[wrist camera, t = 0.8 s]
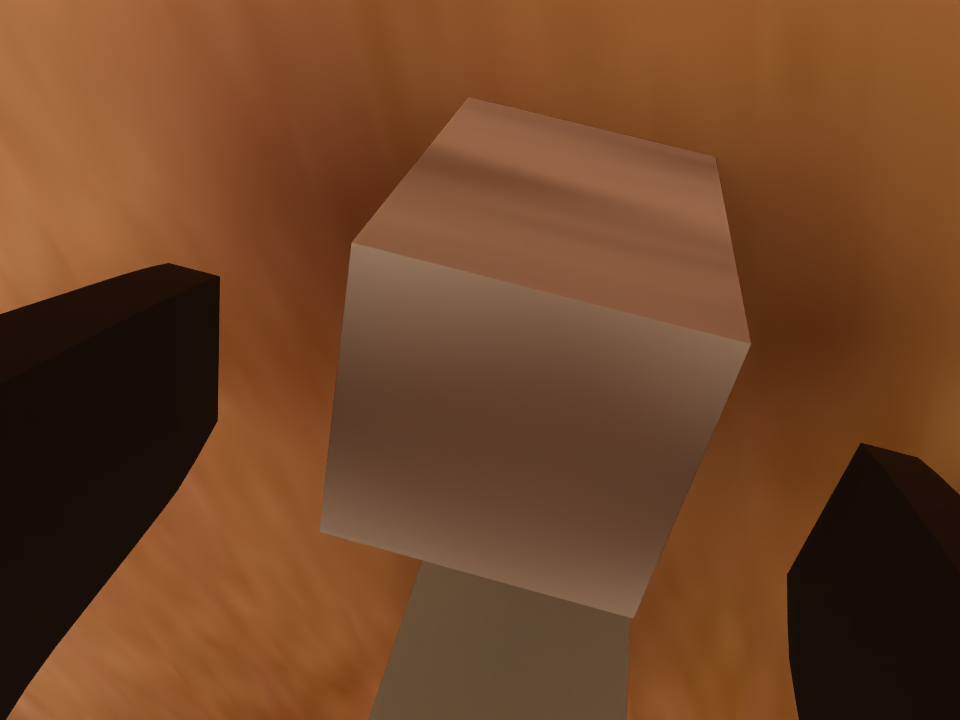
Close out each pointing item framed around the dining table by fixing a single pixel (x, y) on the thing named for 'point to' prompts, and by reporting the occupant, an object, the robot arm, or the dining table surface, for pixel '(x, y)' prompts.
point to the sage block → (502, 655)
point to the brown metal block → (534, 355)
